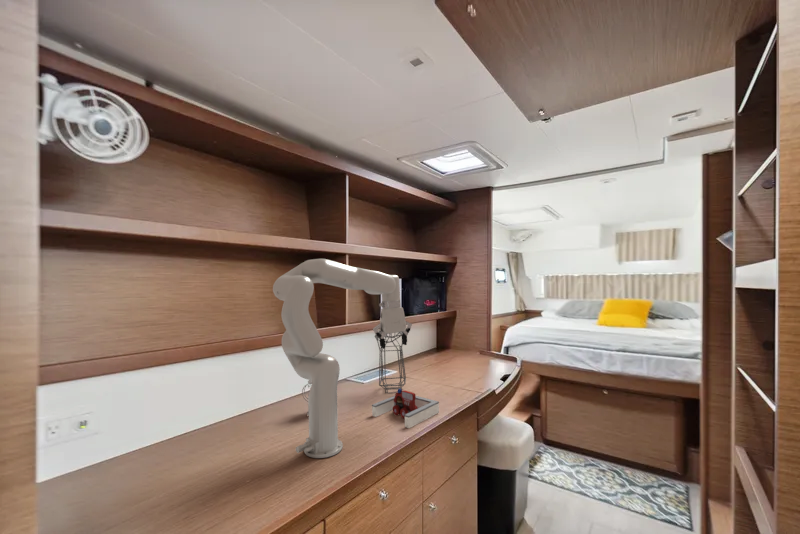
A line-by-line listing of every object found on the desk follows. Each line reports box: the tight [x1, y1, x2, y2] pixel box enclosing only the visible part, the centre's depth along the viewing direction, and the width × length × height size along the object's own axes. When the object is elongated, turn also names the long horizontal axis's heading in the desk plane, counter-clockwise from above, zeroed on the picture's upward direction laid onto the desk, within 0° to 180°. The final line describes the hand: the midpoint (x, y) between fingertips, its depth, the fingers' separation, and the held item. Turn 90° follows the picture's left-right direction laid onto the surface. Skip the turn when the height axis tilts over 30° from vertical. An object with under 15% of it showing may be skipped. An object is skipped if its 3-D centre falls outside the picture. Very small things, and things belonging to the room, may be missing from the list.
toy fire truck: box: [392, 388, 418, 420], centre depth 146 cm, size 7×12×10 cm, turn 41°
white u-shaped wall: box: [371, 395, 440, 429], centre depth 146 cm, size 20×20×5 cm
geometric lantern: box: [374, 329, 407, 394], centre depth 178 cm, size 16×16×35 cm
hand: (393, 346), depth 143 cm, fingers open, 9 cm apart
